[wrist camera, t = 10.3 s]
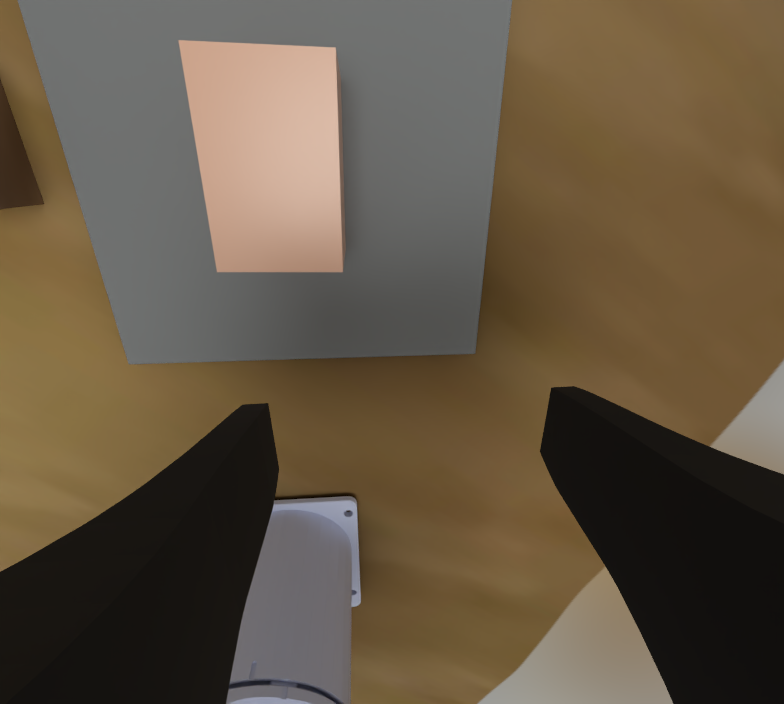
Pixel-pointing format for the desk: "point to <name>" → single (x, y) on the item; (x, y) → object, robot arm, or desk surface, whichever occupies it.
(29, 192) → the walnut cube
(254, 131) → the terracotta brick
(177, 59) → the desk mat
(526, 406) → the desk surface
